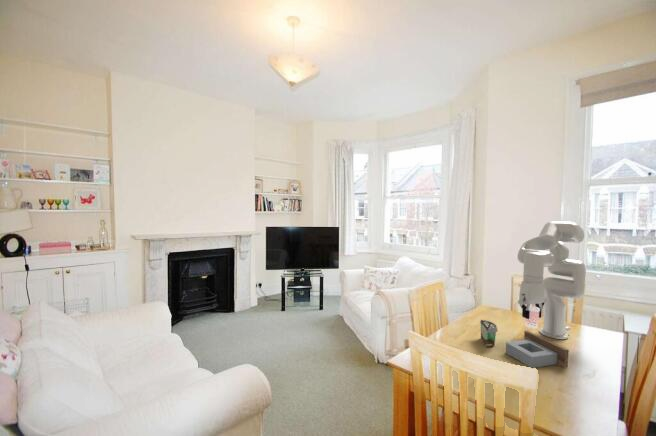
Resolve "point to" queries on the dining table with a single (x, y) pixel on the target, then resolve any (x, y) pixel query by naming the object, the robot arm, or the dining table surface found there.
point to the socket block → (531, 353)
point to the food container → (488, 333)
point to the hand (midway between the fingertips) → (531, 316)
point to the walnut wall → (550, 347)
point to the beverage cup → (532, 317)
